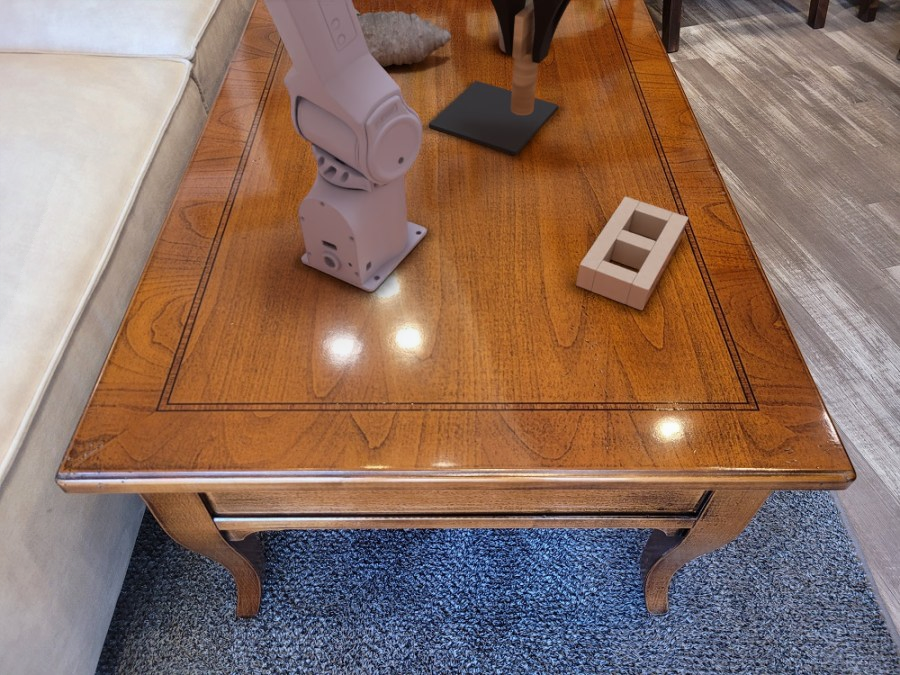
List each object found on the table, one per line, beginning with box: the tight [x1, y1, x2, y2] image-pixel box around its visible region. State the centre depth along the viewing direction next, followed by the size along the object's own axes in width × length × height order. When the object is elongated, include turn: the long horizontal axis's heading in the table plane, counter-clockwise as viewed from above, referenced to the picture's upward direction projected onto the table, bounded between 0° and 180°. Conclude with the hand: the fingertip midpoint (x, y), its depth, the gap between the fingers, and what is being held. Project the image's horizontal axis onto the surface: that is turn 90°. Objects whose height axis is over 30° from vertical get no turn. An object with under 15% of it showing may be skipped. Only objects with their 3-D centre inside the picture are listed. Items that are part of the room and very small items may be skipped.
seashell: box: [357, 10, 452, 68], centre depth 84 cm, size 6×14×8 cm, turn 99°
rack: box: [575, 196, 689, 311], centre depth 61 cm, size 6×11×3 cm, turn 150°
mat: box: [428, 80, 559, 156], centre depth 78 cm, size 11×11×1 cm
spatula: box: [511, 1, 539, 115], centre depth 66 cm, size 5×2×10 cm, turn 149°
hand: (526, 54), depth 66 cm, fingers closed on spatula, 2 cm apart
